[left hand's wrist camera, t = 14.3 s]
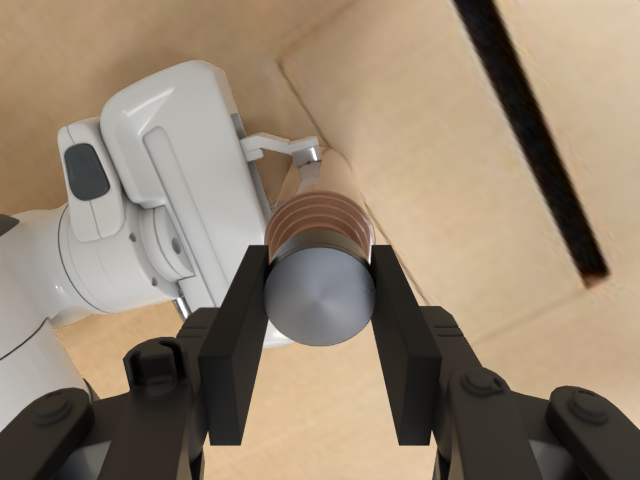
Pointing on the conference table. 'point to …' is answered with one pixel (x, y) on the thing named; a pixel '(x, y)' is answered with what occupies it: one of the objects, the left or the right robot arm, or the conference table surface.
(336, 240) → the cap
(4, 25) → the conference table surface
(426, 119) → the conference table surface
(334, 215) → the bottle
